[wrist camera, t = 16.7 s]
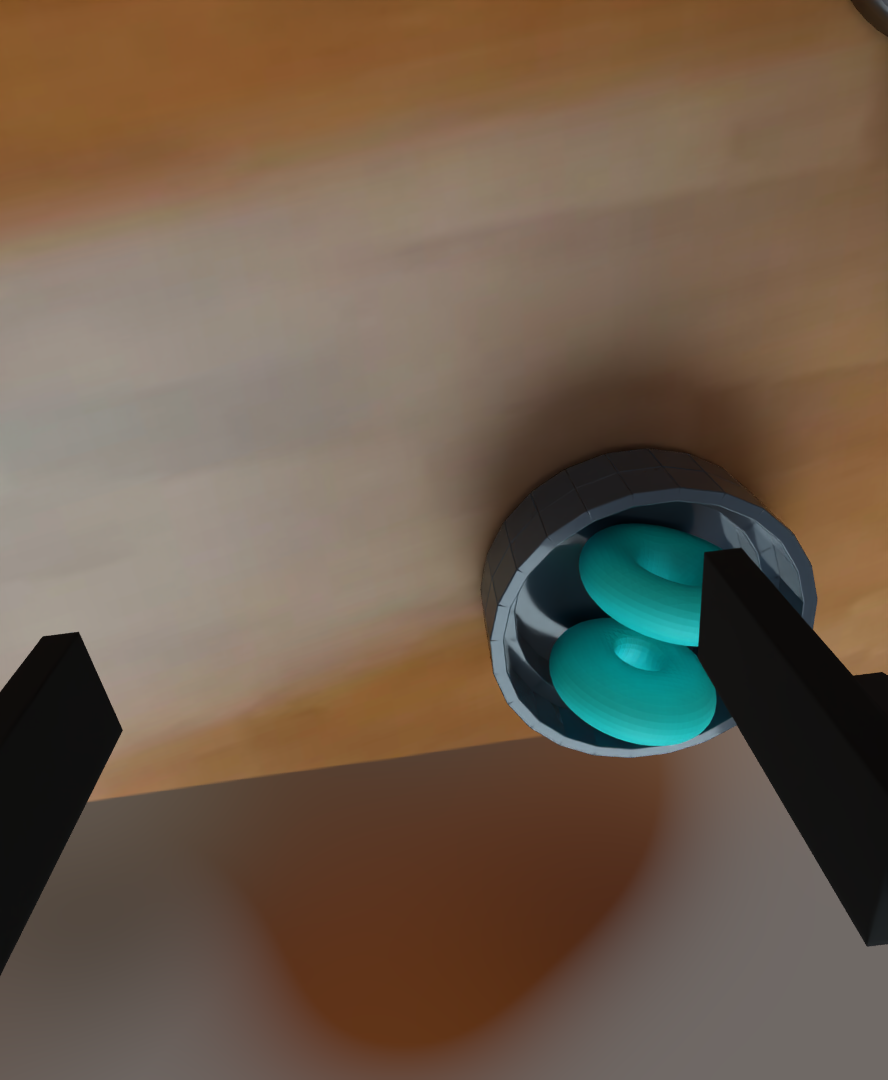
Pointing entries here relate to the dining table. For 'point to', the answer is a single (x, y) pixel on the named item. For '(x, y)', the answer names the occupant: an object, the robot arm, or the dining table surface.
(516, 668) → the bowl
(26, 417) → the dining table surface
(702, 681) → the donuts
